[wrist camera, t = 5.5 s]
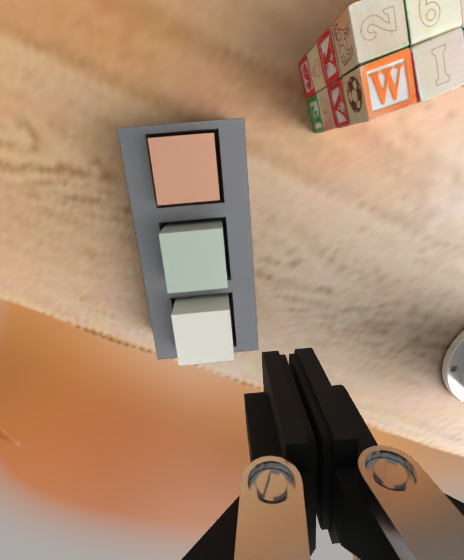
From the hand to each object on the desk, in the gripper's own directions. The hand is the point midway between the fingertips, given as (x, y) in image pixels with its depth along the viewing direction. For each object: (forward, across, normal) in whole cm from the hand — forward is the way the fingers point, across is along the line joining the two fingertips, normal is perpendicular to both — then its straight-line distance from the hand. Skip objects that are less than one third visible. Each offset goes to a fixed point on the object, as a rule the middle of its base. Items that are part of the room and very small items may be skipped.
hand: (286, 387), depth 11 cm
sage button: (+22, +4, 0) cm, 22 cm away
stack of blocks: (+25, -17, -15) cm, 34 cm away
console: (+25, +4, 0) cm, 25 cm away
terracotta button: (+23, +4, -7) cm, 25 cm away
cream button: (+22, +4, +7) cm, 23 cm away
